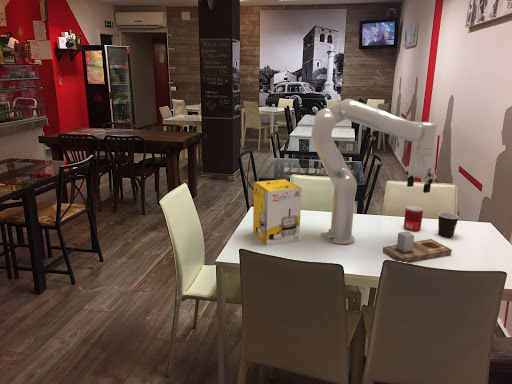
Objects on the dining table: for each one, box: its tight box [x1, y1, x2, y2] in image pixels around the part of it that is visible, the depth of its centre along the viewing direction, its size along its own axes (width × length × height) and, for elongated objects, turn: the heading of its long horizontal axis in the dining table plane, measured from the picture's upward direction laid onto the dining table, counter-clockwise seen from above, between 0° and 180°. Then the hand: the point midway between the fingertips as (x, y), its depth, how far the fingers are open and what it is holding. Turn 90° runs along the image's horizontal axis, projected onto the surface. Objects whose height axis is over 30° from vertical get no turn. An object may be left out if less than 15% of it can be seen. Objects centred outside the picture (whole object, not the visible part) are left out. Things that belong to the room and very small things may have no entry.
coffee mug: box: [437, 212, 459, 239], centre depth 198 cm, size 12×9×10 cm
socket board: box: [382, 238, 453, 264], centre depth 178 cm, size 26×12×3 cm, turn 111°
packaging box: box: [252, 178, 303, 246], centre depth 191 cm, size 16×16×25 cm
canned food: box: [403, 205, 424, 232], centre depth 205 cm, size 8×8×11 cm
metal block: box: [396, 231, 415, 254], centre depth 175 cm, size 4×4×10 cm
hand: (418, 189), depth 184 cm, fingers open, 9 cm apart
